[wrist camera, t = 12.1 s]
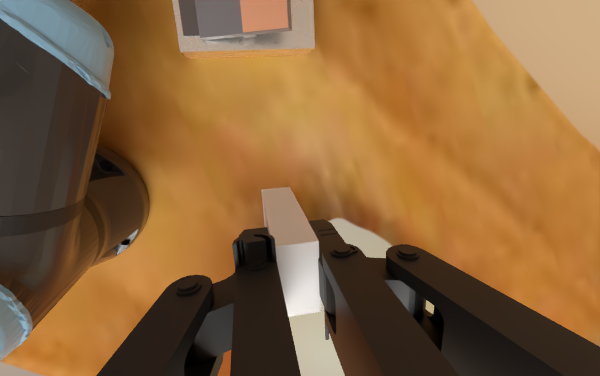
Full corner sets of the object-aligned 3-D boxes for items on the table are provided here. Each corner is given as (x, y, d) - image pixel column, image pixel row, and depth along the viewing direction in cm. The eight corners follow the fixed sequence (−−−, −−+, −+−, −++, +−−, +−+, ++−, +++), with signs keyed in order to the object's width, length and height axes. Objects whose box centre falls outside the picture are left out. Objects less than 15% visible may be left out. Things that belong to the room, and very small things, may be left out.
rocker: (210, 41, 31) (199, 37, 29) (205, -2, 30) (193, -10, 28) (294, 32, 29) (288, 27, 27) (292, -15, 28) (285, -24, 26)
